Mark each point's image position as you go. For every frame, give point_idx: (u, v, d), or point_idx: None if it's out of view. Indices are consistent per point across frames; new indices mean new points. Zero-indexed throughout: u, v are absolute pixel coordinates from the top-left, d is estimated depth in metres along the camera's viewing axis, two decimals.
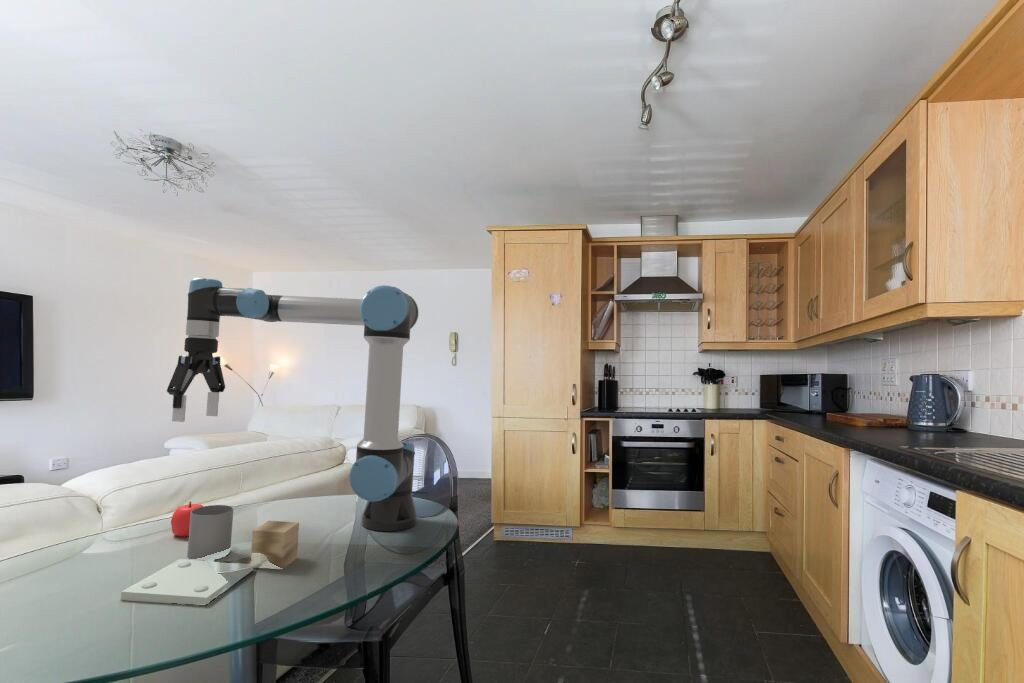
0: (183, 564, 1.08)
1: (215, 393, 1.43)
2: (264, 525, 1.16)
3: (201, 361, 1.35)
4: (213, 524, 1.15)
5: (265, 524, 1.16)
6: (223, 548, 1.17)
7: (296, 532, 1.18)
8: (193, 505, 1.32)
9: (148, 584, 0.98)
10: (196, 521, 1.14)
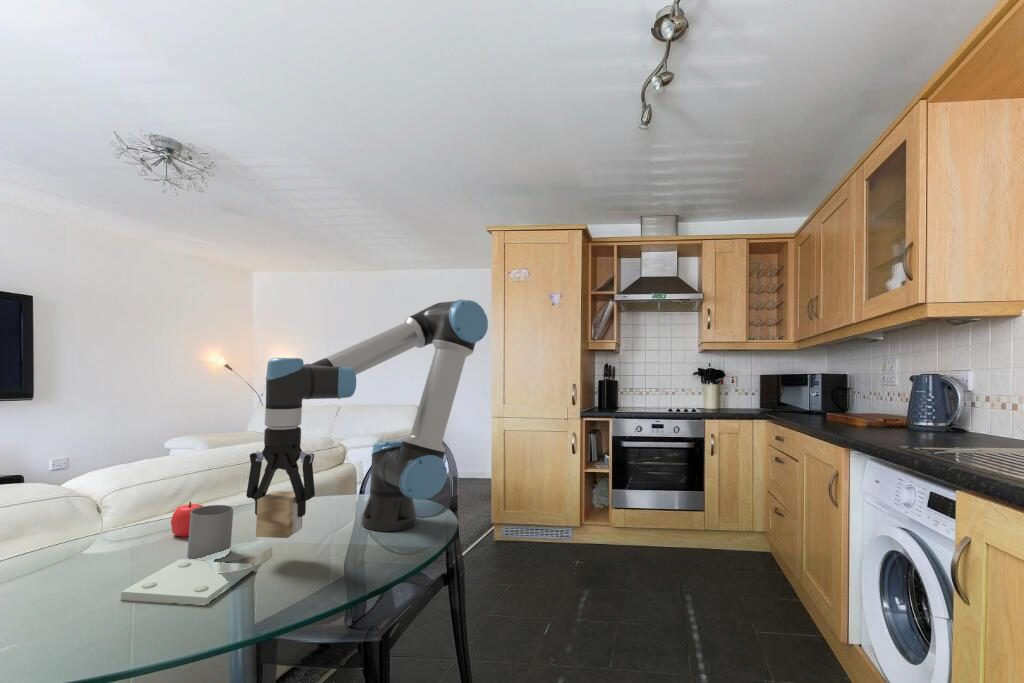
0: (183, 564, 1.08)
1: None
2: (268, 495, 1.16)
3: None
4: (213, 524, 1.15)
5: (269, 494, 1.17)
6: (223, 548, 1.17)
7: None
8: (193, 505, 1.32)
9: (148, 584, 0.98)
10: (196, 521, 1.14)
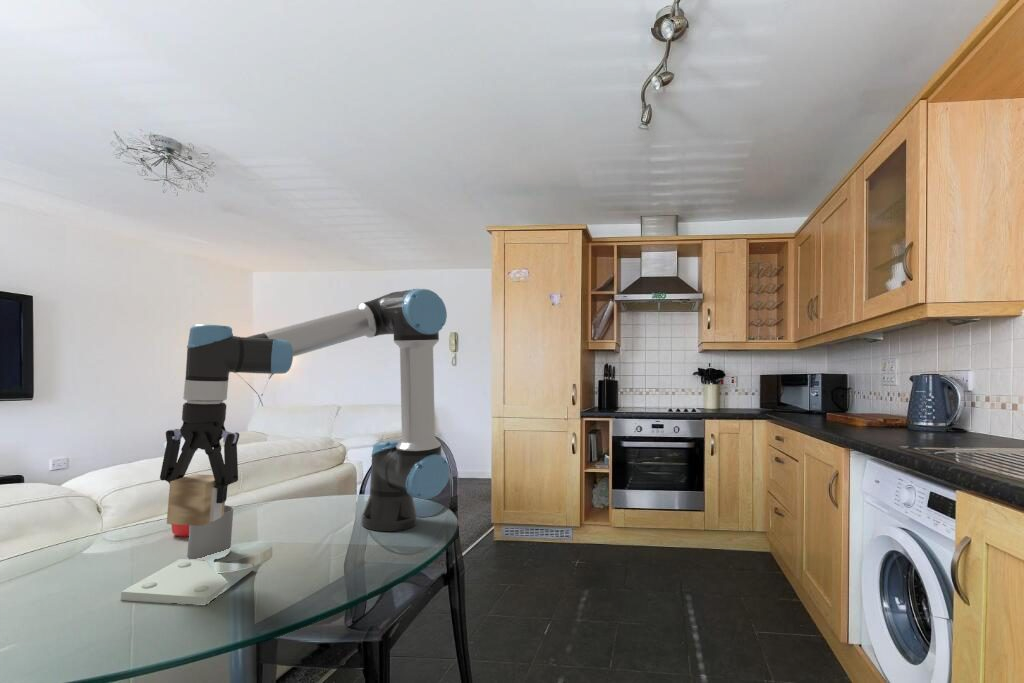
0: (183, 564, 1.08)
1: None
2: (186, 477, 1.04)
3: None
4: (213, 524, 1.15)
5: (187, 476, 1.04)
6: (223, 548, 1.17)
7: None
8: None
9: (148, 584, 0.98)
10: None
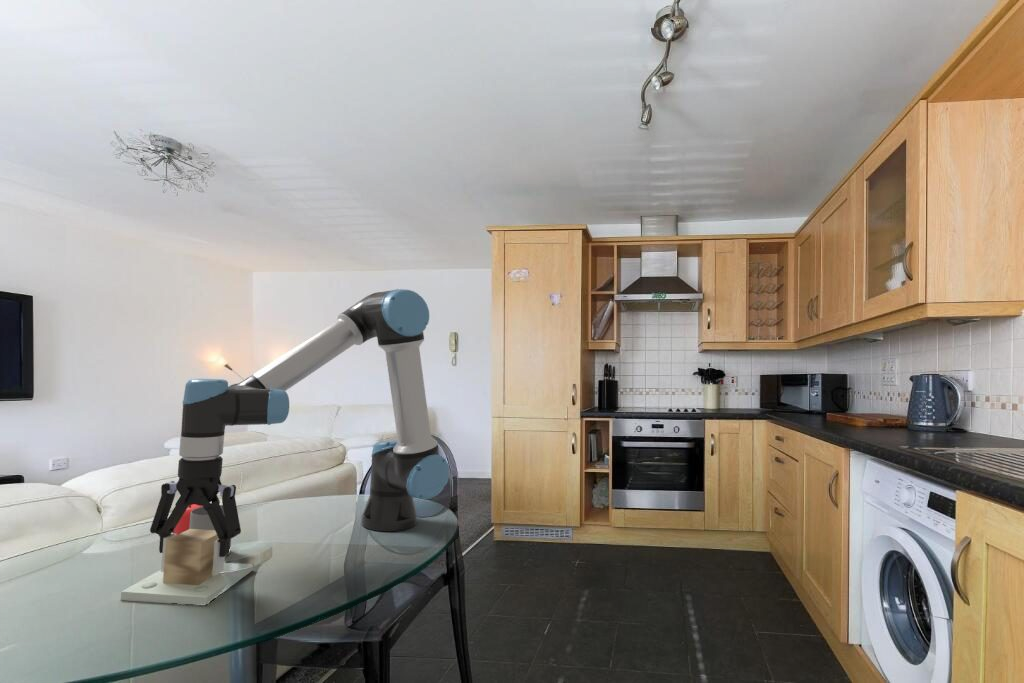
0: None
1: None
2: (182, 534, 1.03)
3: None
4: None
5: (184, 533, 1.04)
6: None
7: None
8: (193, 505, 1.32)
9: (148, 584, 0.98)
10: (196, 521, 1.14)
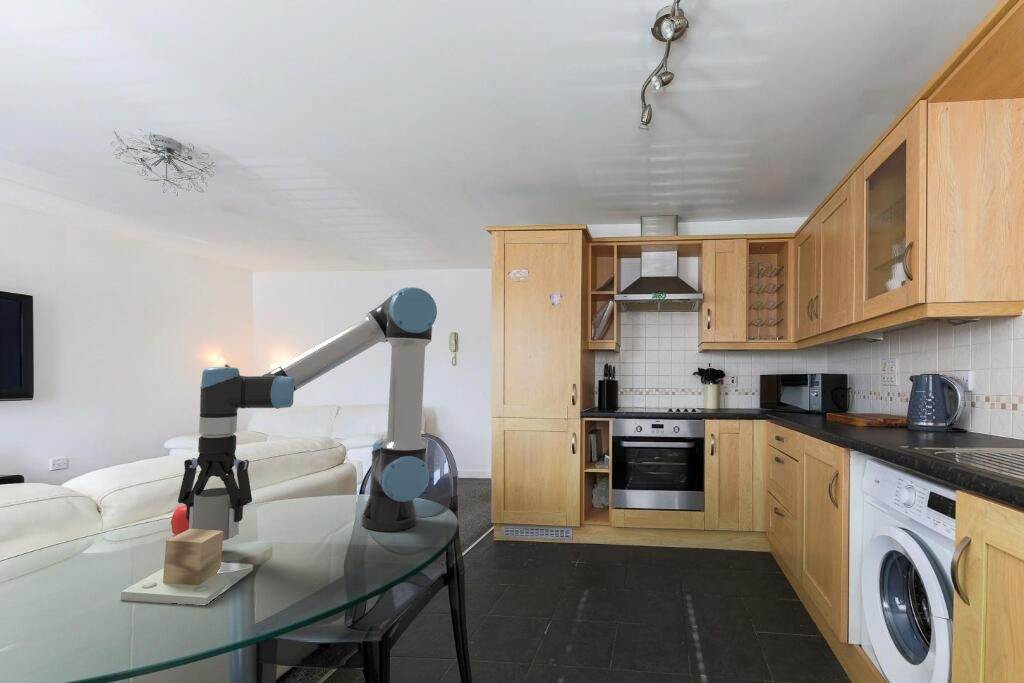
0: None
1: None
2: (182, 534, 1.03)
3: None
4: (216, 505, 1.15)
5: (184, 533, 1.04)
6: (227, 529, 1.17)
7: (219, 542, 1.05)
8: None
9: (148, 584, 0.98)
10: (199, 503, 1.15)
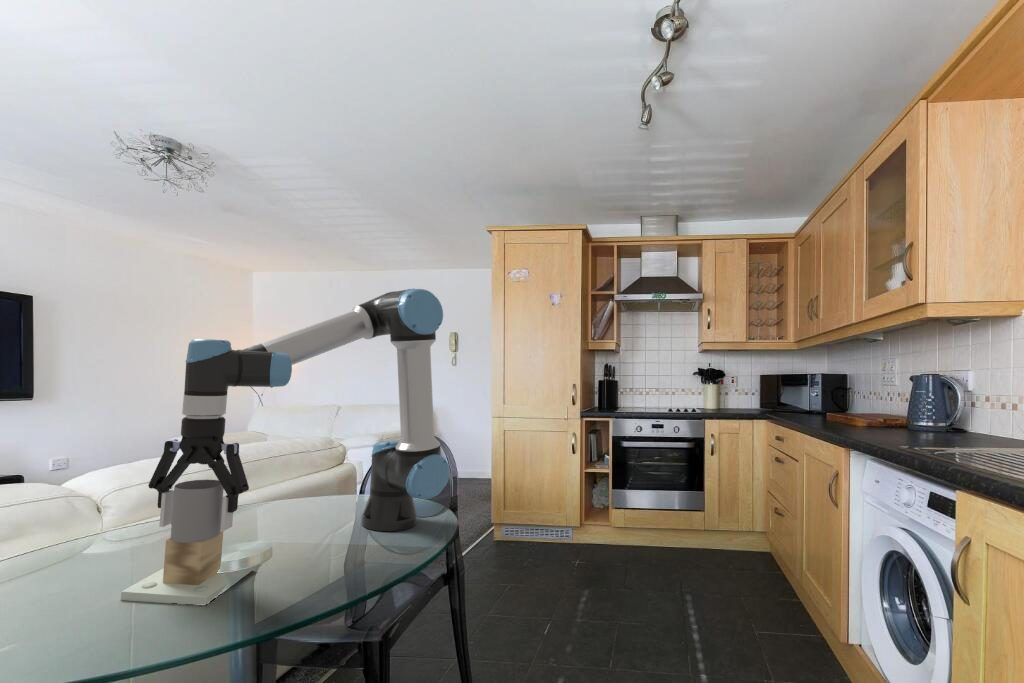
0: None
1: None
2: None
3: None
4: (200, 500, 1.00)
5: None
6: (211, 527, 1.02)
7: (219, 542, 1.05)
8: None
9: (148, 584, 0.98)
10: (180, 496, 1.00)
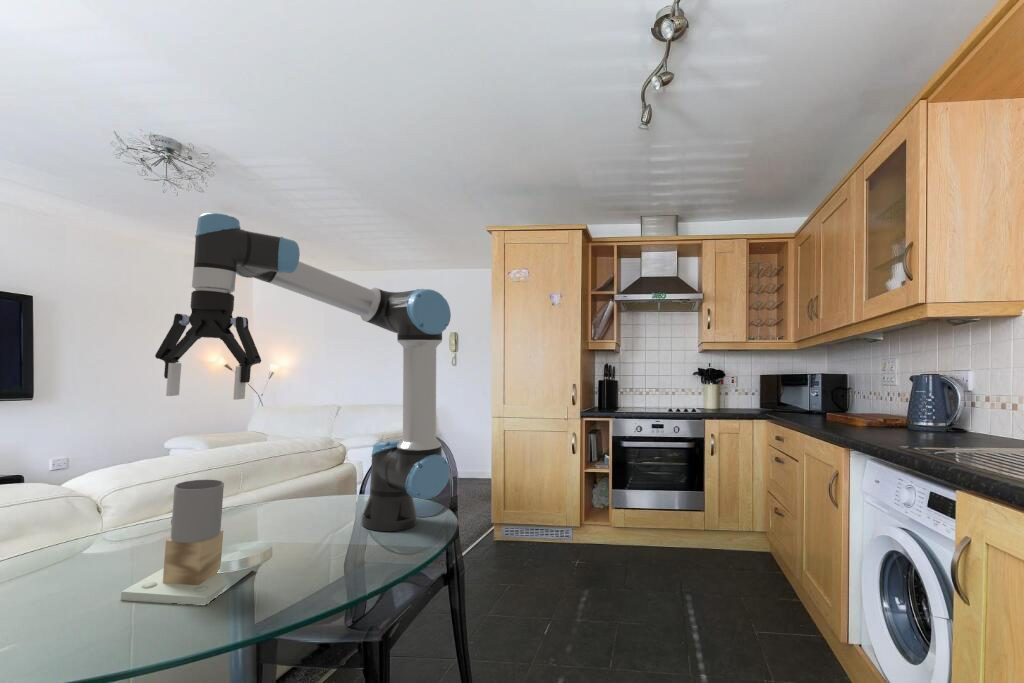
0: None
1: None
2: None
3: None
4: (200, 500, 1.00)
5: None
6: (211, 527, 1.02)
7: (219, 542, 1.05)
8: None
9: (148, 584, 0.98)
10: (180, 496, 1.00)
